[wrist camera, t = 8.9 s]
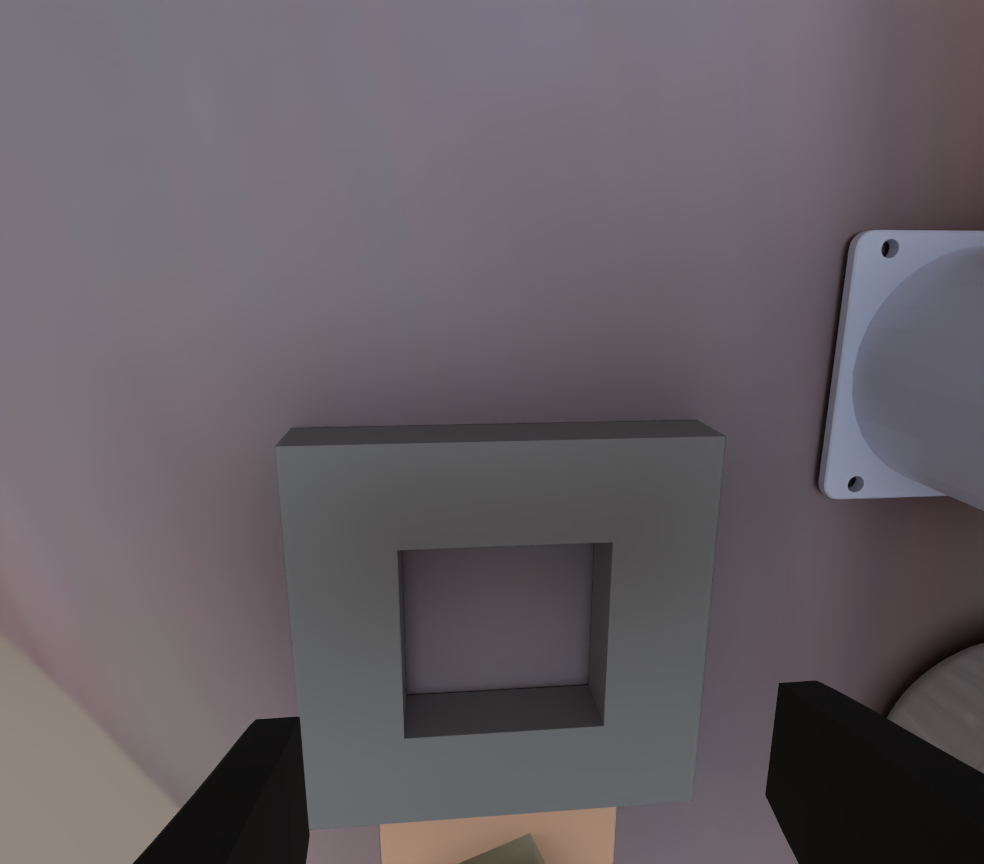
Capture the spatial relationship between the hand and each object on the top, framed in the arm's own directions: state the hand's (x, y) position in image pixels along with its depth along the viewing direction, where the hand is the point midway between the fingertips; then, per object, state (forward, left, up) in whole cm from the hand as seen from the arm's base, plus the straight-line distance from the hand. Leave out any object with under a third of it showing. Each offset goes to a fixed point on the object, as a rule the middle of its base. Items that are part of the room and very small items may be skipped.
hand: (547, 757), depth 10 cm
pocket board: (0, +3, -10) cm, 11 cm away
